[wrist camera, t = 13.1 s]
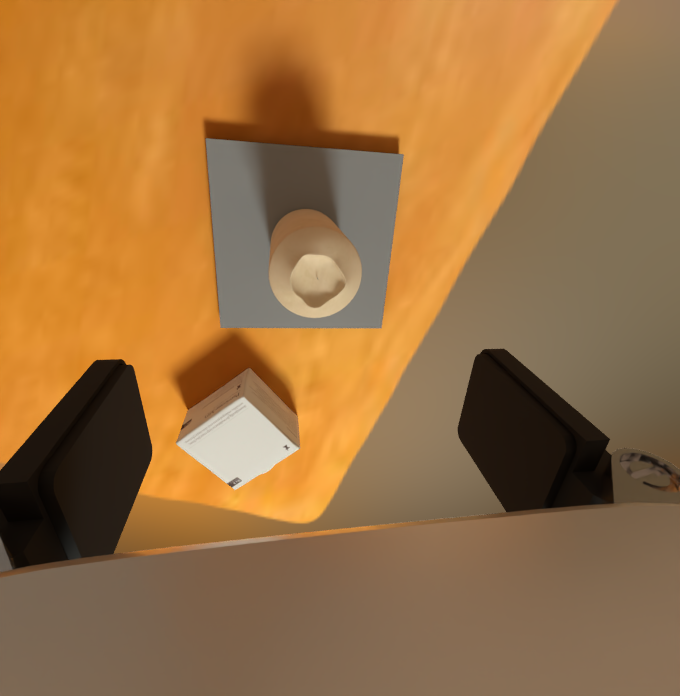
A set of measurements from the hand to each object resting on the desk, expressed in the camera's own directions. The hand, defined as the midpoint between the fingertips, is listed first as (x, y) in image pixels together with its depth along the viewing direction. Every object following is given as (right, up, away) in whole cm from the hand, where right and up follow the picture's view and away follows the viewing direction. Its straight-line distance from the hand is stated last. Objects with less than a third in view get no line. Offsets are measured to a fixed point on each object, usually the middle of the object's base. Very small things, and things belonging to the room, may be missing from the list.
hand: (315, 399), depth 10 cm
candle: (-2, +10, +19) cm, 22 cm away
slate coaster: (-2, +10, +20) cm, 23 cm away
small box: (-9, -5, +27) cm, 29 cm away
